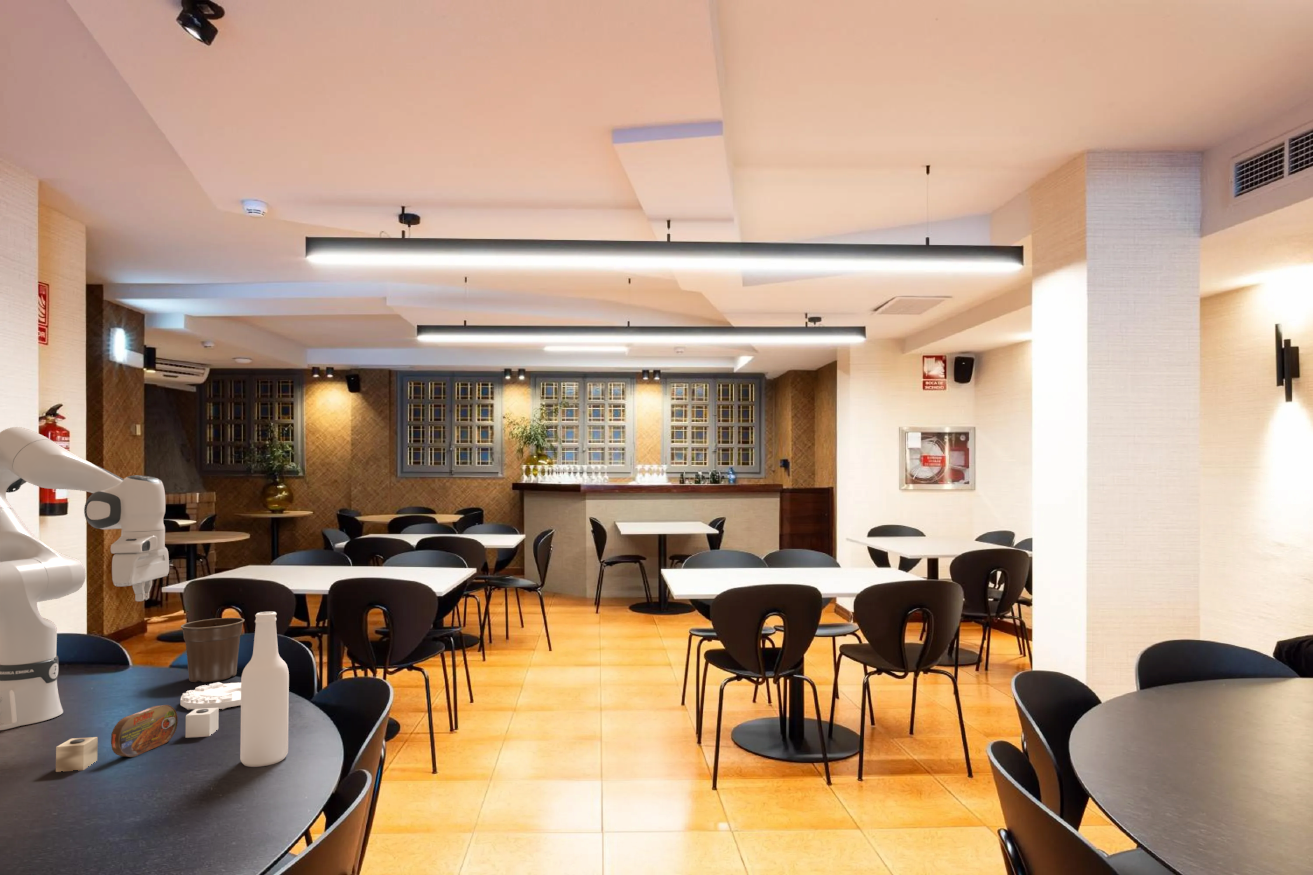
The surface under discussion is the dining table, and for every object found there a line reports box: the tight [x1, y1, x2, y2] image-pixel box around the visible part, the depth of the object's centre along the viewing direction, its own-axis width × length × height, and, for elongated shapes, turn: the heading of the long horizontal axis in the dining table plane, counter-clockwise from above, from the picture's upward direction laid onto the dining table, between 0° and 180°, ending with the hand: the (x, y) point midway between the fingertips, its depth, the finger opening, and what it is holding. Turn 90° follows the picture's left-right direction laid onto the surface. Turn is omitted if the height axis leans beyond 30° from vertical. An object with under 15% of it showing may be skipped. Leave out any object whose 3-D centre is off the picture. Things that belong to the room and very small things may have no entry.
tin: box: [110, 704, 179, 758], centre depth 166 cm, size 15×3×8 cm, turn 168°
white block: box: [185, 708, 220, 739], centre depth 177 cm, size 5×5×5 cm
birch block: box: [55, 736, 99, 773], centre depth 157 cm, size 5×5×5 cm
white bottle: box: [239, 611, 290, 768], centre depth 160 cm, size 9×9×30 cm
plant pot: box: [180, 617, 245, 683], centre depth 227 cm, size 16×16×16 cm
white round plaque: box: [179, 681, 241, 711], centre depth 203 cm, size 20×20×3 cm
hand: (142, 600), depth 186 cm, fingers closed
